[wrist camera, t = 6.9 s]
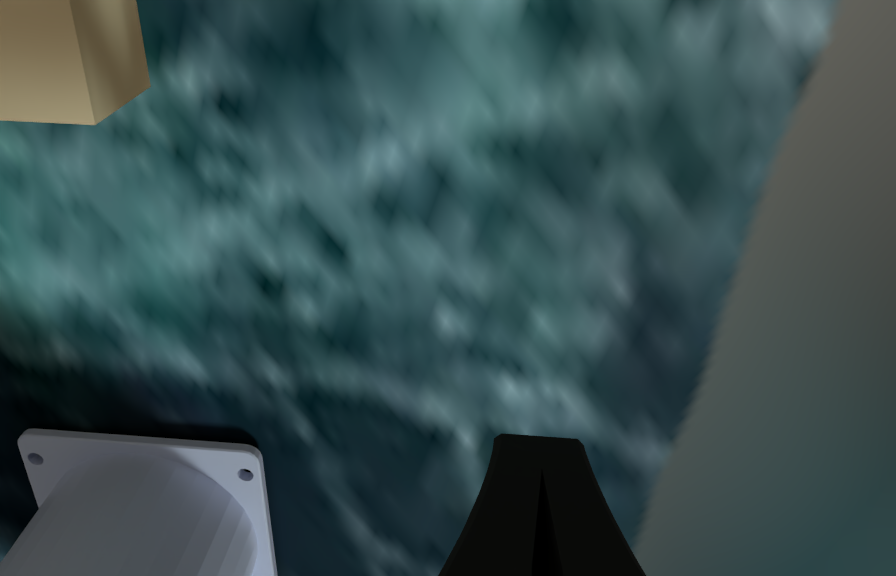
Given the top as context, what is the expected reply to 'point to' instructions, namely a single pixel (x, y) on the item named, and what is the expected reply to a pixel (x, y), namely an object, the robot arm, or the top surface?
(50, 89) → the maple t block
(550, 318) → the top surface
